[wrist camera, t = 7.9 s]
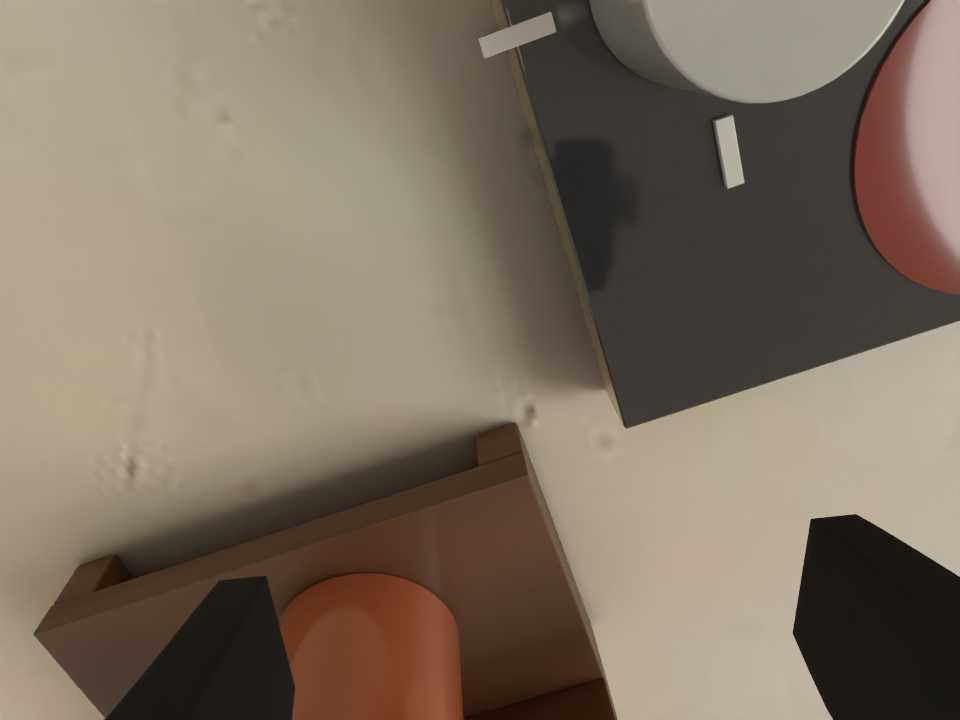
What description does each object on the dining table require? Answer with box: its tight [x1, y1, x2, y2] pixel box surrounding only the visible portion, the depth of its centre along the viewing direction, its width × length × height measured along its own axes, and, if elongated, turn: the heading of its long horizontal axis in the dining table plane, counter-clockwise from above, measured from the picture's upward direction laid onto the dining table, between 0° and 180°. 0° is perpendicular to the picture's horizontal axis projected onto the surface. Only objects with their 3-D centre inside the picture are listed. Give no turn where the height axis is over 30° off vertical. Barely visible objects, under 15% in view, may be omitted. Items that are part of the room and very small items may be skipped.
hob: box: [478, 0, 960, 428], centre depth 14 cm, size 13×15×2 cm
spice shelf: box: [34, 423, 618, 720], centre depth 19 cm, size 8×13×4 cm, turn 109°
